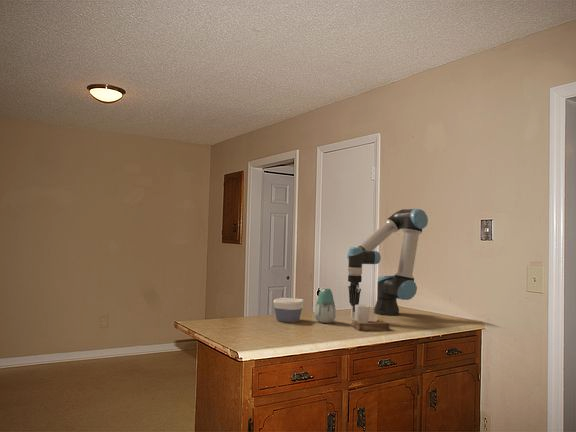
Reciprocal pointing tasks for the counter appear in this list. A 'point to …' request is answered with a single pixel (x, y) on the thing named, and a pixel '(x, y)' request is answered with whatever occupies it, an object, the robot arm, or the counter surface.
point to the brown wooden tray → (370, 325)
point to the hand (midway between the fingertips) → (353, 317)
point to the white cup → (362, 313)
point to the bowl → (288, 309)
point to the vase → (325, 307)
